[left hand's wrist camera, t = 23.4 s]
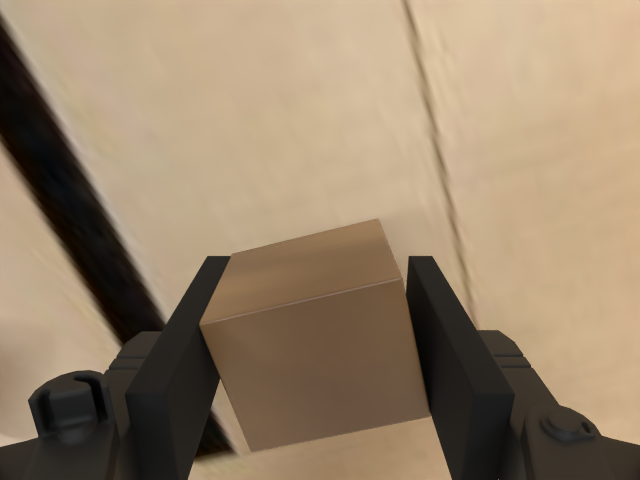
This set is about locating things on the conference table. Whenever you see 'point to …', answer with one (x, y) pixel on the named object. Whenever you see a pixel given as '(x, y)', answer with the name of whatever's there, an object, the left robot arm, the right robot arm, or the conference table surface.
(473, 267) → the conference table surface
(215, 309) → the brick
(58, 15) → the conference table surface
